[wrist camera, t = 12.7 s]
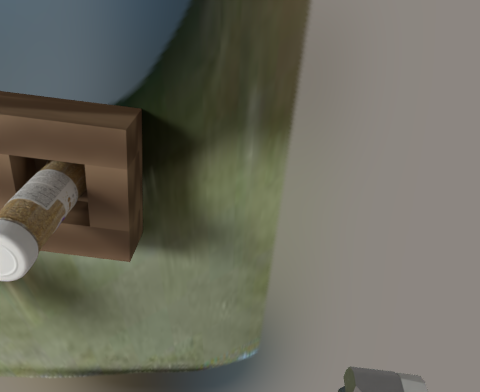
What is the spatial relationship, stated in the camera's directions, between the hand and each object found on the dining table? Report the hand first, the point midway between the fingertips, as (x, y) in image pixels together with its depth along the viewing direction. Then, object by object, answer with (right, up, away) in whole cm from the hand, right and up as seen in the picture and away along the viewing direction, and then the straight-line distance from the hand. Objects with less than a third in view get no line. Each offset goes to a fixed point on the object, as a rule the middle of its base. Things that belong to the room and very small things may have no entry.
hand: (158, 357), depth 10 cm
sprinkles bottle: (-15, +6, +34) cm, 38 cm away
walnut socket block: (-15, +6, +35) cm, 38 cm away
